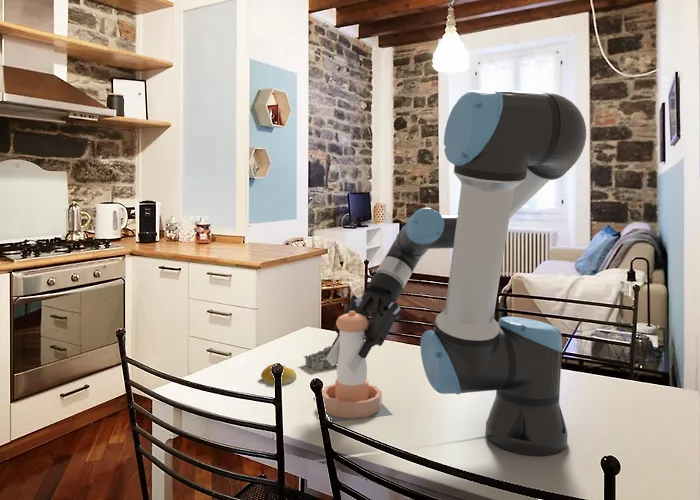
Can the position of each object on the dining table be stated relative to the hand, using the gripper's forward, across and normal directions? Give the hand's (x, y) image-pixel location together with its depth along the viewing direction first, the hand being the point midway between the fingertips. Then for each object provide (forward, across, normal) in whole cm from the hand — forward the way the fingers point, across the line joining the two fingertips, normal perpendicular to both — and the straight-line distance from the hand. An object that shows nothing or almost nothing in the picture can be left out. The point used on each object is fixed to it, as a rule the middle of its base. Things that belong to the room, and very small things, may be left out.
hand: (340, 365), depth 118 cm
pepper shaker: (+3, 0, -8) cm, 9 cm away
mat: (+5, 0, -10) cm, 11 cm away
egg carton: (-7, +26, -23) cm, 36 cm away
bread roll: (+5, +26, -11) cm, 28 cm away
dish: (+5, 0, -10) cm, 11 cm away
